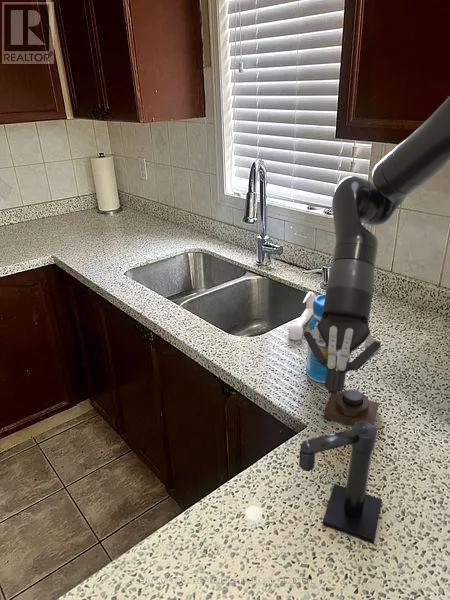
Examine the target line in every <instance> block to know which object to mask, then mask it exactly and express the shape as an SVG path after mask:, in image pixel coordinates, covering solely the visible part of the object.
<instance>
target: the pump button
mask: <svg viewBox="0 0 450 600" xmlns="http://www.w3.org/2000/svg"><path fill="white" fill-rule="evenodd" d="M344 391H345V390H344ZM360 392H361V391H359V390H357V389H354V388H353V389H351V388H350V389H347V391H345V393H344V403H345V404H347V405H349V406H353V407H357V406H360V405H361V403H362V394H363V393H362V392H361V393H362V394H361V393H360Z"/></svg>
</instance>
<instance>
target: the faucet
mask: <svg viewBox="0 0 450 600" xmlns="http://www.w3.org/2000/svg"><path fill="white" fill-rule="evenodd" d="M316 296H317V295H316V294H315V292H313V291H308V292H307V293H306V295H305V297H304V299H303V301H302V303H303V304H305V303H306V304H305V310H304V311H303V312H302V314H301V315H300V317H299V319H298V321H297V322H293V323H291V324H290V325H289V326H288V338H289V339H290V340H292V341H300V340H302V338H303V334H304V326H305V324H306V323H309V321H310V320H311V318H312V317H313V316H314V313H313V301H314V298H315V297H316Z"/></svg>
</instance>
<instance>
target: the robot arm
mask: <svg viewBox="0 0 450 600" xmlns="http://www.w3.org/2000/svg"><path fill="white" fill-rule="evenodd" d="M449 163H450V95H449V96H448V97H447V98H446V99H445V101H444V102H443V103H442V104H441V105H440V106H438V108H437V109H436V110H435V111H434V112H433V113H432V114H431V115H430V116H429V117H428V118H427V119H426V120H425V121H424V122H423V123H422V124H421V125H420V126H419V127H418V128H417V129H416V130H414V131H413V132H412V133H411V134H410V135H409V136H408V137H406V138H405V139H404V140H403V141H402V142H400V143H399V144H397V146H396V147H395V148H394V149H392V150H391V151H390V152H388V154H387V155H385V156H384V157H383V158H382V159H380V161H378V163H377V164H376V165H375V166H374V168H373V170H372V175H371V177H372V181H369V180H367V179H364V178H362V177H359V176H354V175H350V176H346V177H345V178H343V179H342V180H341V181H339V183H338V184H337V186H336V187H335V189H334V192H333V194H332V201H331V202H332V203H331V208H332V209H331V210H332V218H333V226H334V236H335V245H334V252H333V258H332V263H331V267H330V270H329V273H328V279H327V284H326V288H325V289H326V291H325V294H326V295H325V302H324V308H323V313H322V318H321V320H320V321H319V322H318V325H317V328H315V329H313V330H311V331H309V330H305V331H303V334H302V336H303V338H304V339H305V341H306V343H307V346H308V345H309V347H310V348H311V350H312V352H313V354H314V356H315V357H316V359H317V361H318V362H319V363H320V364H321V365H323V366H325V367H326V368H327V374H326V380H325V383H324V389H325V390H327V394H330V395H331V394H335V395H338V394H339V393H340V392H342V391H344V389H345V384H346V383H345V382H346V376H347V373H348V372H351V371H354V372H355V371H356V372H357V371H359V369H361V367H363V366H364V365H365V364H366V363H367V362H368V361H369V360H370V359H372V358H373V357H374V356H375V355H376V354H378V352H379V351H380V350H381V349H382V344H381V342H380V341H378V340H376V339H375V338H374V337H373V336H372V335H371V329H370V327H369V326H370V325H369V321H370V314H371V307H372V301H373V294H374V291H375V288H374V287H375V271H376V270H375V269H376V268H375V267H376V262H377V255H378V248H379V241H378V238H377V236H376V235H375V234H374V233H373V232H372V231H370V230H369V229H367V228H366V227H365V226H370V227H378V226H382V225H384V224H385V223H387V222H388V221H389V220H390V219H391V218H392V216H393V215H394V214H395V212H396V211H397V210H398V208H399V207H400V206H401V204H402V203H403V202H404V201H405V199H406V198H407V197H408V196H409V195H410V194H411V193H413V192H414V191H416V190H418V189H419V188H420V187H421V186H423V185H424V184H426V183H427V182H429V181H430V180H432V179H433V178H434V177H436V175H438V174H439V173H441V171H442V170H443V169H444V168H446V167H447V165H448V164H449ZM364 225H365V226H364ZM319 334H321V336H322V338H323V340H324V342H325V344H326V345H327V346H328V359H326V358H325V356H324V355H323V353H322V351H321V349H320V348H319V346H318V344H317V342H318V341H319ZM364 342H365V343H364ZM363 343H364V345H363V346H364V350H363V351H362V352H361V353H359V354H358V355H357V356H356V357H354V359H353V360H352V361H350V360H351V357H352V353H353V352H354V351H356V350H357V349H358V348H359V347H360V346H361V345H362V344H363ZM339 350H341V354H340V360H339V364H338V370H337V371H336V369H337V361H338V353H339Z"/></svg>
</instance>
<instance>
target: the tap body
mask: <svg viewBox="0 0 450 600" xmlns="http://www.w3.org/2000/svg"><path fill="white" fill-rule="evenodd" d="M372 456H373V451H371V452H369V453H361V452H358V451H356V450H355V449H354V448H353V447H352V446H351V448H350V458H349V464H348V471H347V480H346V486H342V485H340V484H336V483H334V484H333V487H332V489H331V494H330V496H329V499H328V503H327V506H326V509H325V513H324V516H323V519H322V526H323V527H327V528H330V529H332V530H335V531H337V532H340V533H343V534H346V535H348V536H351V537H354V538H356V539H359V540H362V541H365V542H367V543H370V544H373V545H374V544H375V540H376V535H377V529H378V523H379V519H380V513H381V507H382V502H383V498H380V497H377V496H373V495H370V494H368V493H366V492H367V487H368V481H369V476H370V475H369V474H370V469H371V467H370V466H371V461H372Z"/></svg>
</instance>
